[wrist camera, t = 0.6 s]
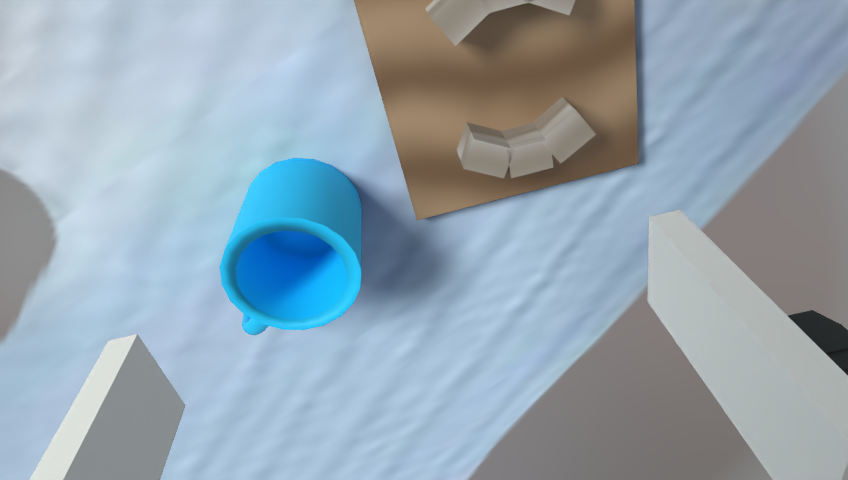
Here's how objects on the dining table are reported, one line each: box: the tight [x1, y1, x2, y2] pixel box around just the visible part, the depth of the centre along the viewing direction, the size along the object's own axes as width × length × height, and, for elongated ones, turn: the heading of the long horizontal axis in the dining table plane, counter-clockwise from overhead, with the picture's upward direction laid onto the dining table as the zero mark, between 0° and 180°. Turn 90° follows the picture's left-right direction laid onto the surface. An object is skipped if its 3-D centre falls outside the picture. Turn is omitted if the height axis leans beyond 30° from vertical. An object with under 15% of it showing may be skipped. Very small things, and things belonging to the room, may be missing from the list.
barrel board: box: [354, 0, 639, 220], centre depth 33 cm, size 18×16×4 cm
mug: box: [220, 158, 362, 335], centre depth 36 cm, size 12×8×8 cm
